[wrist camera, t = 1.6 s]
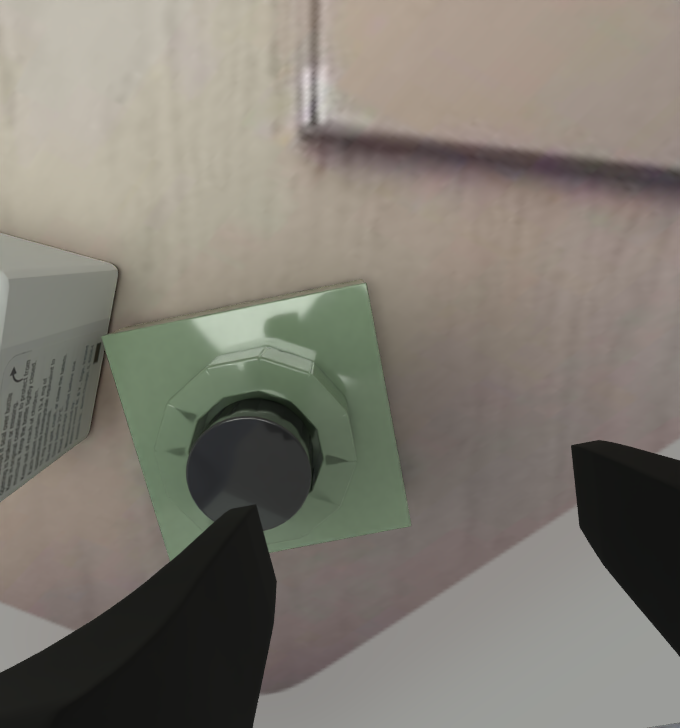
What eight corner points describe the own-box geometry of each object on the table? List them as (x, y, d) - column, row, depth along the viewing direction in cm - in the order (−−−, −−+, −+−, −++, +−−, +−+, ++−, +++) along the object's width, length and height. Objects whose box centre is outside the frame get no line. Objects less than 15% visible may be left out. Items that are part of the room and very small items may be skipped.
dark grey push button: (323, 491, 18) (322, 520, 16) (216, 512, 19) (203, 543, 17) (300, 387, 18) (296, 405, 16) (188, 409, 18) (170, 430, 16)
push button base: (403, 497, 23) (420, 555, 19) (189, 537, 23) (156, 604, 19) (362, 278, 21) (370, 286, 16) (127, 326, 21) (72, 346, 17)
